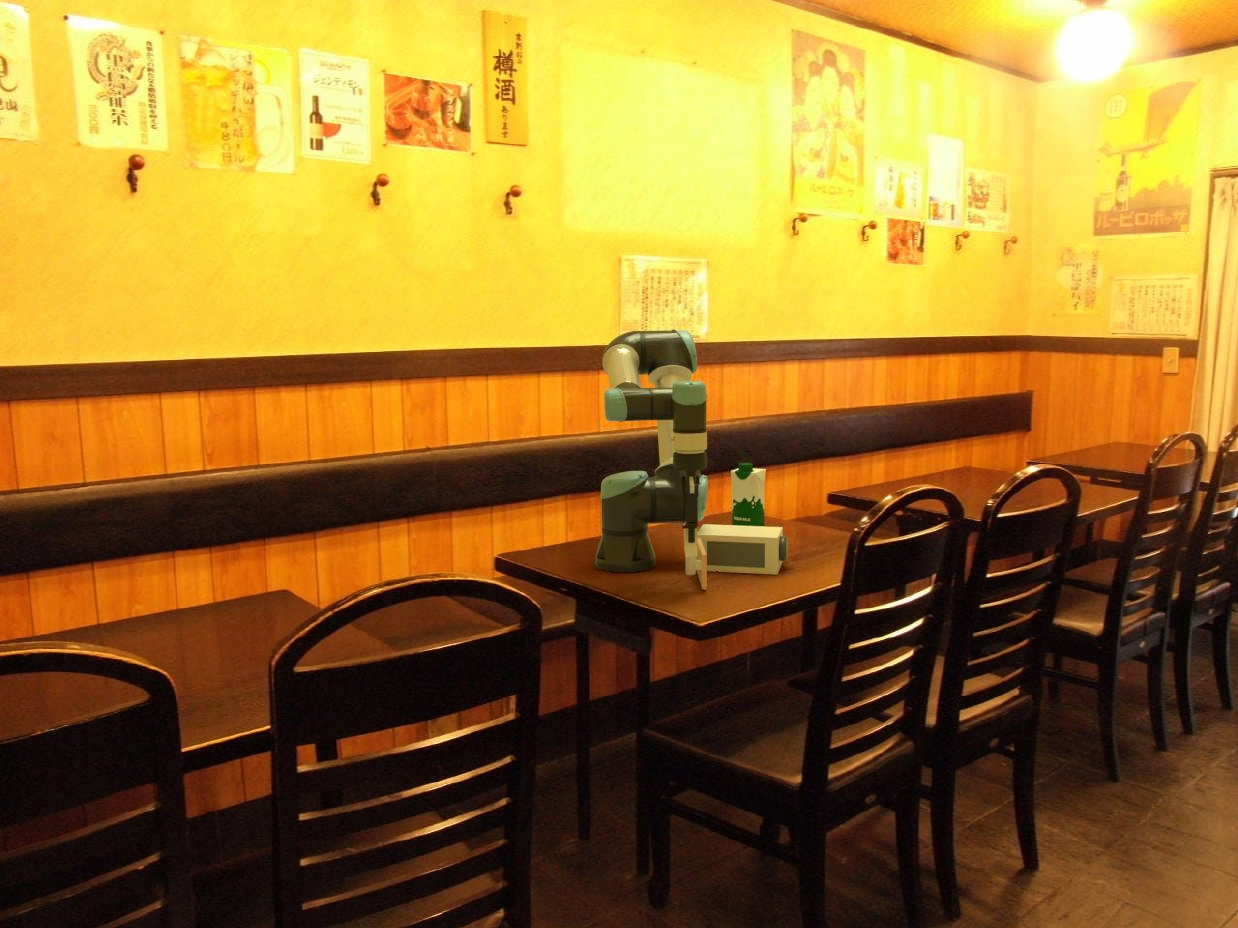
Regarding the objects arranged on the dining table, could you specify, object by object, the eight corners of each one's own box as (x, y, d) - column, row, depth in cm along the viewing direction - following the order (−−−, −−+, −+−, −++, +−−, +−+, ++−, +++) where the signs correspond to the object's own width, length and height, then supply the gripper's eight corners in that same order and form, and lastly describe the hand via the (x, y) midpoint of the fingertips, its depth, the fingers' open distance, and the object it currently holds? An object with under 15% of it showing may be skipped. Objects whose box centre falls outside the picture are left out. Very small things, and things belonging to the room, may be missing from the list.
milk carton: (727, 533, 280) (727, 463, 277) (741, 527, 287) (741, 459, 284) (756, 536, 275) (756, 465, 272) (769, 530, 282) (769, 461, 279)
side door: (680, 569, 239) (680, 506, 236) (700, 568, 239) (700, 506, 236) (686, 590, 221) (685, 522, 218) (707, 589, 221) (707, 522, 218)
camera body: (694, 570, 239) (694, 534, 238) (703, 558, 251) (703, 524, 250) (784, 574, 234) (784, 538, 232) (788, 562, 245) (789, 527, 244)
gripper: (670, 446, 225) (671, 545, 229) (674, 456, 209) (675, 563, 212) (703, 445, 225) (704, 545, 229) (710, 456, 209) (710, 562, 212)
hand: (690, 553), depth 221 cm, fingers open, 4 cm apart
